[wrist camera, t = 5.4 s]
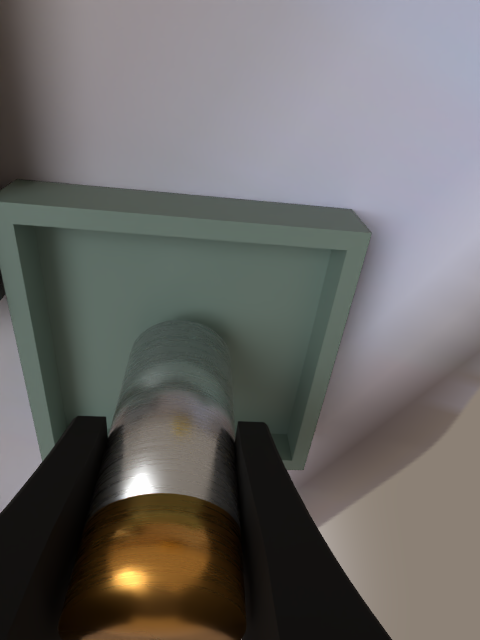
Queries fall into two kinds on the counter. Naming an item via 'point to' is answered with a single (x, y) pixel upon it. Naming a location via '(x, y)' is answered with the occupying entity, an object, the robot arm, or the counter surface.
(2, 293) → the block
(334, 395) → the counter surface
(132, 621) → the small bottle
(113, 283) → the tray
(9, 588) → the robot arm
